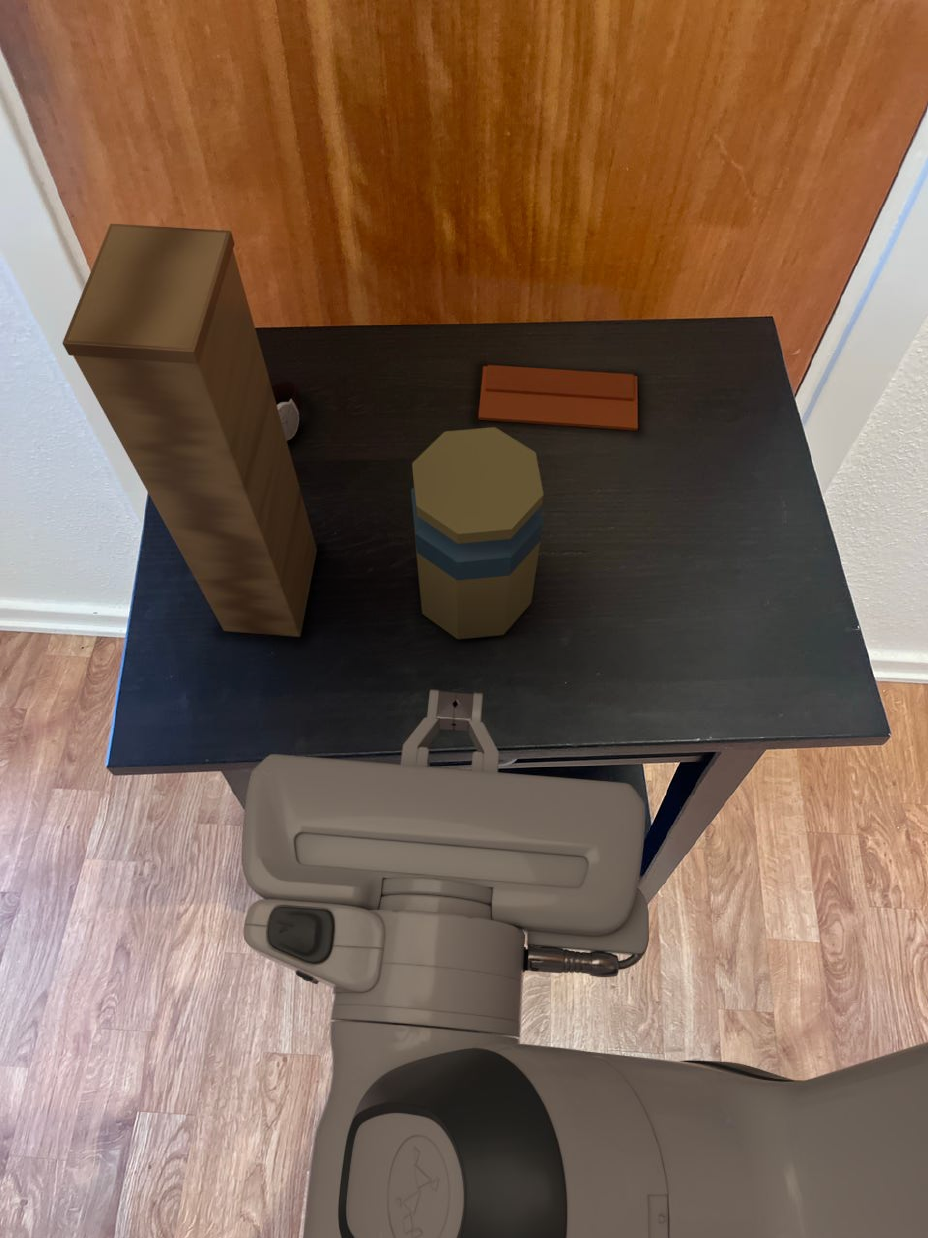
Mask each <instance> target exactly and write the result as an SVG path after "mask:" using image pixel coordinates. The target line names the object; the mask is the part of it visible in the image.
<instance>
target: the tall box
mask: <svg viewBox="0 0 928 1238" xmlns="http://www.w3.org/2000/svg"><path fill="white" fill-rule="evenodd" d="M234 248H235V240H234V238H233V234H232V231H231V230H223V229H221V230H220V229H204V228H189V227H188V228H187V227H176V226H175V227H173V226H172V227H171V226H158V225H157V226H156V225H155V226H154V225H140V224H139V225H138V224H124V223H122V224H121V223H110V224H109V225H108V228H107V231H106V233H105V236H104V238H103V240H102V243H101V246H100V248H99V251H98V253H97V255H96V258H95V261H94V263H93V266H92V268H91V270H90V273H89V275H88V278H87V280H86V283H85V285H84V288H83V290H82V293H81V294H80V297H79V300H78V302H77V306H76V308H75V310H74V312H73V315H72V318H71V320H70V323H69V325H68V328H67V330H66V332H65V335H64V337H63V339H62V345H63V348H64V350H65V351H66V353H67V355H68V356H71V357H72V356H73V358H74V360H75V362H76V364H77V365H78V368H79V369H80V371H81V373H82V375H83V376H84V378H85V380H86V382H87V384H88V386H89V387H90V389H91V391H92V393H93V395H94V397H95V398H96V400H97V402H98V404H99V406H100V407H101V409H102V411H103V413H104V415H105V417H106V418H107V420H108V422H109V424H110V426H111V427H112V430H113V432H114V433H115V435H116V437H117V439H118V440H119V442H120V444H121V446H122V448H123V449H124V451H125V453H126V455H127V457H128V459H129V460H130V462H131V464H132V466H133V467H134V470H135V471H136V473H137V475H138V477H139V479H140V481H141V482H142V484H143V486H144V488H145V490H146V492H147V493H148V495H149V497H150V499H151V501H152V502H153V504H154V506H155V508H156V510H157V512H158V514H159V515H160V517H161V519H162V521H163V523H164V524H165V526H166V529H167V530H168V532H169V533H170V535H171V537H172V539H173V541H174V543H175V544H176V546H177V548H178V550H179V552H180V554H181V555H182V557H183V559H184V561H185V563H186V564H187V566H188V568H189V570H190V572H191V573H192V576H193V577H194V579H195V581H196V583H197V584H198V586H199V589H200V590H201V592H202V594H203V595H204V597H205V599H206V601H207V603H208V605H209V607H210V608H211V610H212V612H213V614H214V616H215V618H216V619H217V621H218V623H219V625H220V626H221V628H222V630H223V632H231V633H245V634H256V635H257V634H258V635H259V634H260V635H271V636H283V637H298V638H300V637H301V636H302V631H303V630H302V629H303V626H304V619H305V615H306V609H307V604H308V599H309V594H310V588H311V583H312V578H313V572H314V568H315V564H316V563H315V562H316V557H317V553H318V548H317V545H316V541H315V539H314V538H315V537H314V535H313V530H312V527H311V523H310V520H309V517H308V512H307V509H306V506H305V502H304V498H303V495H302V492H301V488H300V484H299V480H298V476H297V473H296V470H295V466H294V463H293V460H292V456H291V451H290V449H289V444H288V440H287V441H286V437H285V433H284V430H283V426H282V423H281V419H280V416H279V412H278V408H277V405H278V404H277V401H275V398H274V394H273V390H272V387H271V386H272V384H271V380H270V377H269V373H268V370H267V366H266V362H265V359H264V355H263V351H262V348H261V344H260V341H259V337H258V333H257V330H256V327H255V322H254V320H253V316H252V312H251V308H250V305H249V302H248V298H247V295H246V291H245V287H244V284H243V280H242V276H241V272H240V269H239V266H238V261H237V258H236V255H235V252H234Z"/></svg>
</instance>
